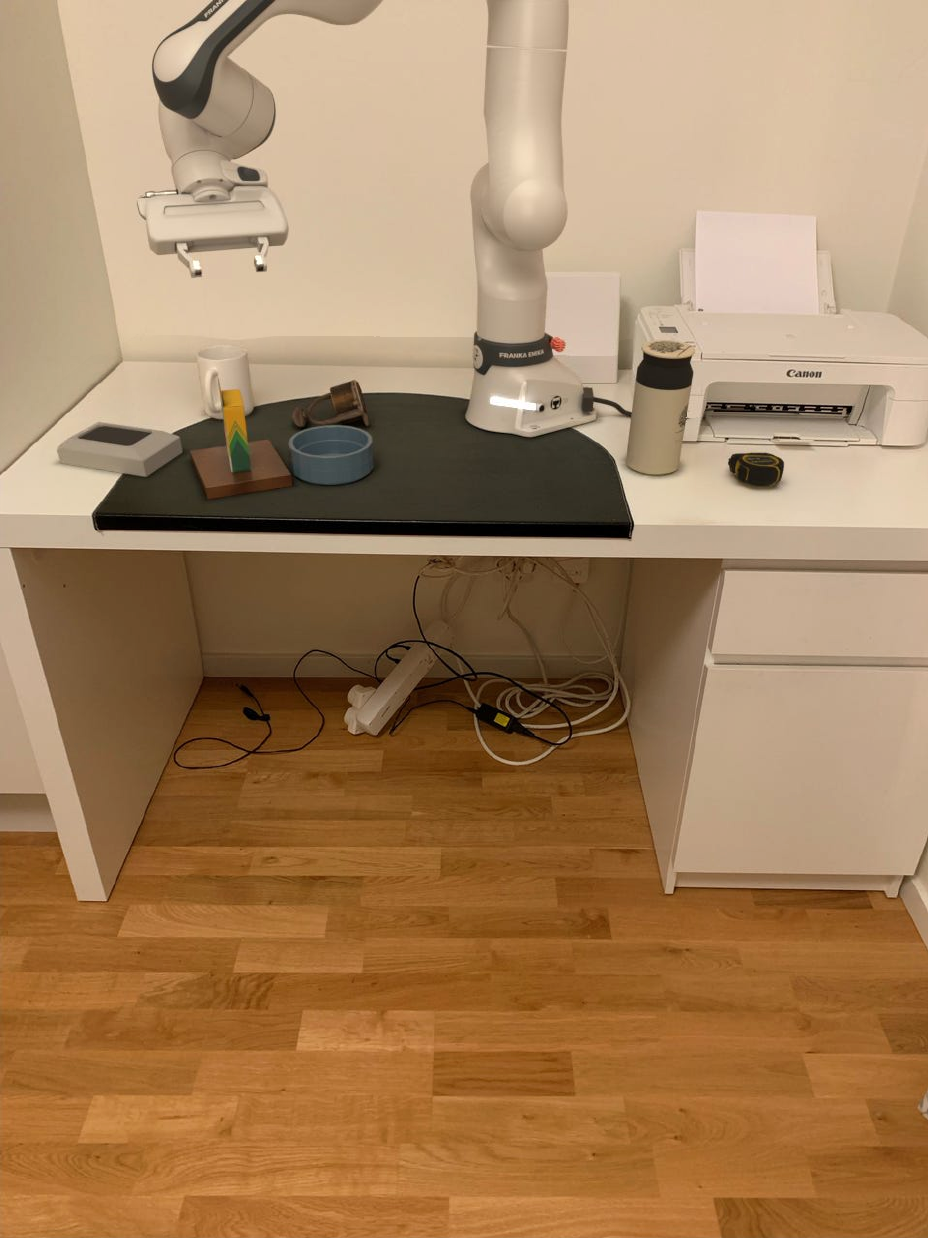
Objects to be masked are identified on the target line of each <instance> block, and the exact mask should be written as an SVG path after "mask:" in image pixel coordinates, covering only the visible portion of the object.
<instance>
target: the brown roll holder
mask: <svg viewBox="0 0 928 1238" xmlns="http://www.w3.org/2000/svg"><path fill="white" fill-rule="evenodd" d="M364 398H365V397H364V394H363V391H362V387H361V386H360V383H359V382H358V381H357V380H355V379H354V380H353V379H352V380H350V381H347V382H343V383H340V384H337V385H334V386H331V387H330V388H329V392H327V393H325V394H322V395H320V396H318V397H317V398H315V399H314V400H313V401H311V402H310V403H309V405H308V406H307V408H306V410H305V409H304V408H303V407H302V406H296V407H295V408H294V410H293V411H292V418H291V419H292V422H293V424H294V425H295V426H296V427H297V428H299V429H303V428H305V427H306V424H307V421H309V422H310V423H311V424H313V425H315V426H327V425H335V424H337V423H339V424H340V425H342V426H346V425H348V424H351V423H354V422H357V421H358V422H359V421H363V424H364V425H365V427H369V424H370V422H369V416H368V410H367V406H366V403H365V399H364ZM330 399H331V401H332V406H333V408H334V411H335V415H336V416H334V417H330V418H326V419H316V418H314V417H312V411H313V409H315V407H316V406H318V405H319V404H321V403H322V402H324V401H326V400H330Z"/></svg>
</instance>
